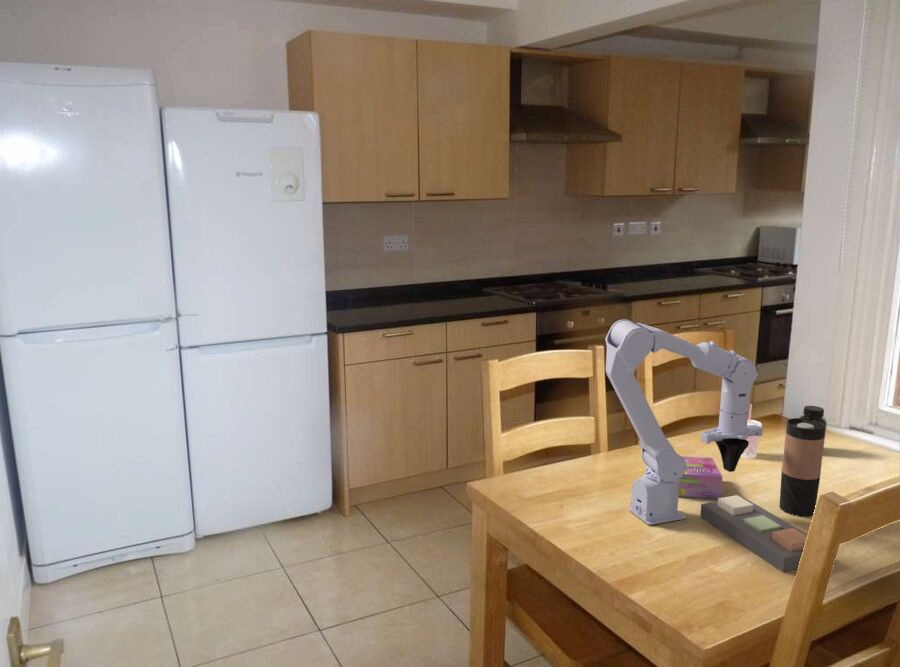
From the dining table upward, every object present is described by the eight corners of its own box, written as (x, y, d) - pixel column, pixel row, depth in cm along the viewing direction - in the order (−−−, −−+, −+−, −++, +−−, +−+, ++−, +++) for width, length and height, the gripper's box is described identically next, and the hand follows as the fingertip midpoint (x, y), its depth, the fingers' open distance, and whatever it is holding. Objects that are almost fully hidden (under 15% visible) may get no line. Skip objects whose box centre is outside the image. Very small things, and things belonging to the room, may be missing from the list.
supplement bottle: (797, 453, 195) (801, 410, 192) (793, 445, 201) (797, 403, 198) (825, 456, 193) (830, 413, 190) (820, 447, 199) (825, 405, 196)
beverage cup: (730, 455, 194) (734, 404, 191) (740, 449, 198) (744, 399, 195) (752, 461, 190) (757, 409, 187) (762, 455, 194) (767, 404, 191)
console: (782, 572, 137) (784, 557, 136) (700, 516, 159) (701, 504, 158) (828, 562, 140) (830, 547, 140) (741, 509, 162) (743, 496, 162)
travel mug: (794, 519, 158) (803, 430, 153) (770, 504, 165) (778, 419, 161) (824, 514, 160) (834, 427, 155) (799, 500, 167) (807, 416, 163)
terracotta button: (790, 553, 138) (791, 543, 138) (771, 541, 143) (772, 531, 143) (811, 549, 140) (812, 539, 140) (791, 537, 145) (792, 527, 144)
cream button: (733, 517, 153) (733, 508, 153) (717, 507, 158) (717, 498, 157) (752, 513, 155) (753, 504, 154) (736, 503, 159) (737, 495, 159)
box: (712, 456, 177) (722, 476, 166) (711, 478, 179) (720, 499, 167) (668, 454, 179) (675, 473, 168) (667, 476, 180) (673, 496, 169)
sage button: (760, 539, 146) (760, 529, 146) (742, 528, 151) (743, 519, 150) (780, 535, 148) (781, 526, 147) (762, 524, 152) (763, 515, 152)
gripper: (718, 419, 151) (713, 481, 154) (774, 412, 156) (769, 472, 159) (696, 409, 158) (692, 469, 161) (751, 403, 162) (746, 460, 165)
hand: (729, 470), depth 160 cm, fingers closed
